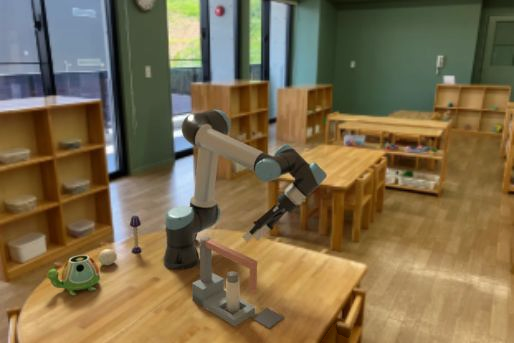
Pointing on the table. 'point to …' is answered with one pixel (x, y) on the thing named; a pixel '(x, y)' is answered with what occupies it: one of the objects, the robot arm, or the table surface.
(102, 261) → the cream oval egg shape
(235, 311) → the bottle
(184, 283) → the table surface
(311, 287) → the table surface
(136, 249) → the toy lamp
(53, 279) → the turtle holder
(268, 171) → the robot arm
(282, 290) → the table surface
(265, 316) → the mat
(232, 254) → the pink bent bar
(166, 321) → the table surface
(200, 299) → the dock
